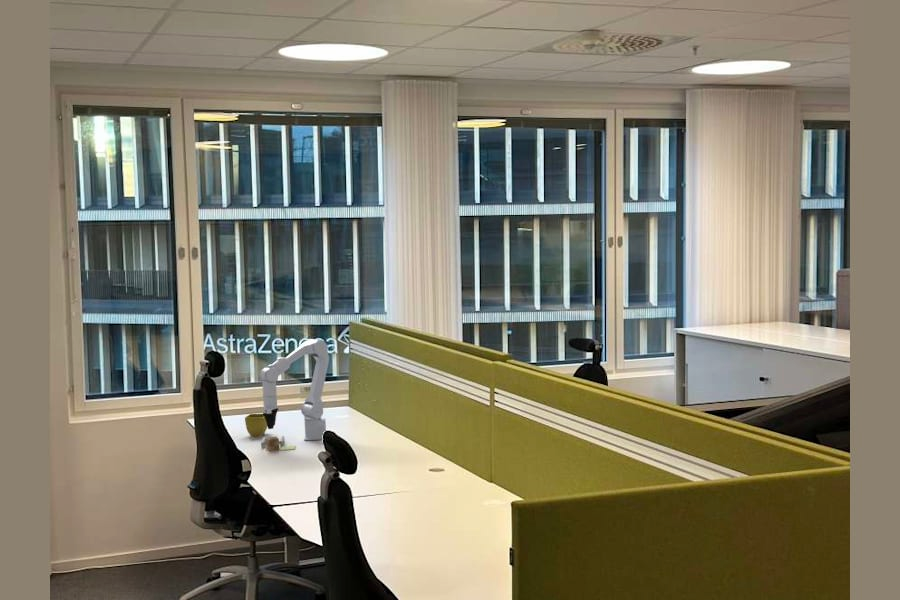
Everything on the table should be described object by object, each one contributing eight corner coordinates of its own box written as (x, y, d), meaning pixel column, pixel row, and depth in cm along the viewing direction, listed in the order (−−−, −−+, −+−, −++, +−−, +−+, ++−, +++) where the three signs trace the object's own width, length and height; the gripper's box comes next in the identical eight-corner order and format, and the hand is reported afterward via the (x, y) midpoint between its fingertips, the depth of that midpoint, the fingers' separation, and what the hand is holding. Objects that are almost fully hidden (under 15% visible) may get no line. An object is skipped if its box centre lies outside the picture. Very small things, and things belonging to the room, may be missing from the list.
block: (276, 447, 394) (276, 436, 394) (279, 450, 390) (278, 438, 390) (266, 449, 392) (265, 437, 392) (268, 451, 388) (268, 439, 388)
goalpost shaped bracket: (284, 441, 405) (284, 436, 405) (282, 446, 395) (282, 441, 395) (263, 442, 404) (263, 437, 404) (261, 448, 394) (261, 442, 394)
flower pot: (269, 432, 424) (268, 413, 424) (264, 437, 416) (263, 417, 415) (251, 432, 425) (250, 413, 424) (245, 437, 417) (244, 417, 416)
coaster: (295, 446, 395) (295, 445, 395) (294, 449, 389) (294, 448, 389) (281, 447, 394) (281, 446, 394) (280, 450, 388) (280, 449, 388)
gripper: (262, 393, 402) (263, 424, 403) (258, 399, 388) (260, 431, 389) (278, 392, 403) (280, 423, 404) (275, 398, 388) (277, 430, 389)
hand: (271, 427), depth 396 cm, fingers open, 6 cm apart
